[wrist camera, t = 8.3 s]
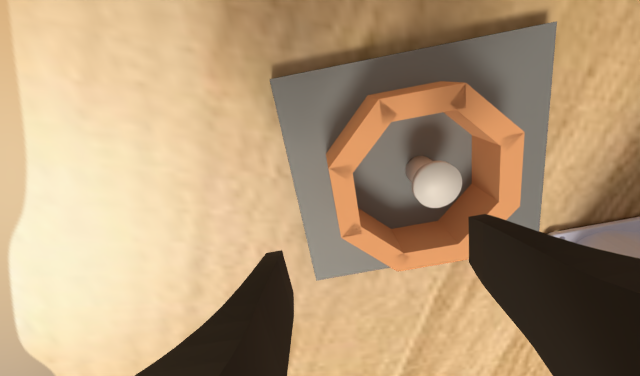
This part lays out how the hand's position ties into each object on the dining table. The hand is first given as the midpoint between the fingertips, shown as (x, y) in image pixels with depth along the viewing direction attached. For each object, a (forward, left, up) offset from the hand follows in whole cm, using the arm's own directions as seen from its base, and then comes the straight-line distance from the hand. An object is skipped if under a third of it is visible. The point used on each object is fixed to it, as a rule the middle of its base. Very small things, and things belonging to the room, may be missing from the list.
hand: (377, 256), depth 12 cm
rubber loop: (-4, 0, -8) cm, 9 cm away
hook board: (-4, 0, -9) cm, 10 cm away
